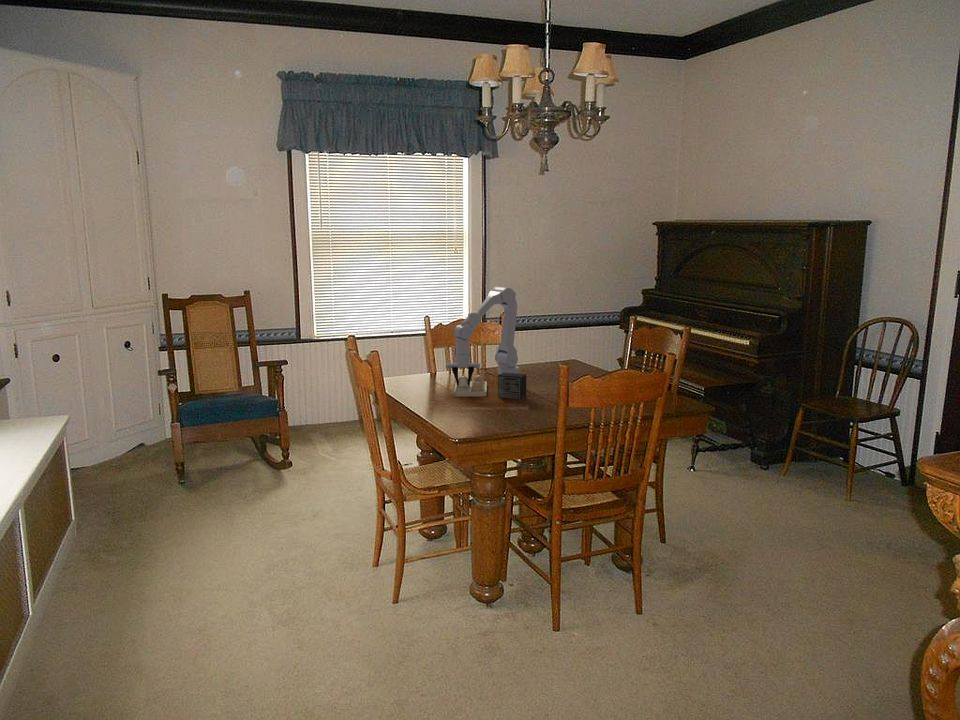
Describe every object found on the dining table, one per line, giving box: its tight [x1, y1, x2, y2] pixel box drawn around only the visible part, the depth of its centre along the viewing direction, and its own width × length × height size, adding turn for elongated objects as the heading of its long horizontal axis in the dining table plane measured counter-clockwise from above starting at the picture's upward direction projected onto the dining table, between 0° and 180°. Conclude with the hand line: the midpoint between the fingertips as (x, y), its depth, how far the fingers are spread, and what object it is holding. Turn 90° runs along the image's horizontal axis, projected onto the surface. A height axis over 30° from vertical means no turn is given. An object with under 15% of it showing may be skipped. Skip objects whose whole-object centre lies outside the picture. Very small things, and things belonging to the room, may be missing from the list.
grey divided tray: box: [453, 380, 488, 397], centre depth 306 cm, size 14×20×3 cm
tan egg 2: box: [473, 382, 483, 392], centre depth 300 cm, size 4×4×5 cm
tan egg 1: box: [473, 374, 484, 385], centre depth 312 cm, size 4×4×5 cm
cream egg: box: [458, 375, 468, 388], centre depth 306 cm, size 4×4×5 cm
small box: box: [497, 372, 527, 400], centre depth 295 cm, size 11×6×10 cm, turn 65°
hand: (463, 384), depth 306 cm, fingers closed on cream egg, 4 cm apart
